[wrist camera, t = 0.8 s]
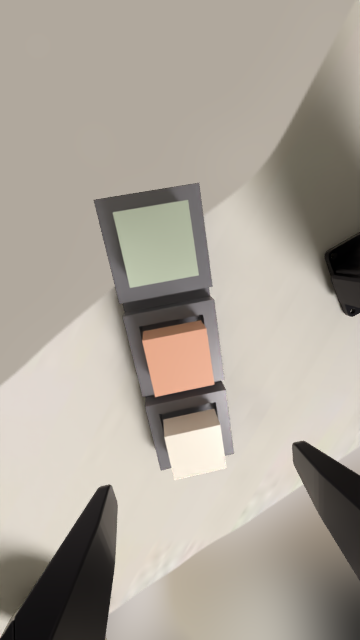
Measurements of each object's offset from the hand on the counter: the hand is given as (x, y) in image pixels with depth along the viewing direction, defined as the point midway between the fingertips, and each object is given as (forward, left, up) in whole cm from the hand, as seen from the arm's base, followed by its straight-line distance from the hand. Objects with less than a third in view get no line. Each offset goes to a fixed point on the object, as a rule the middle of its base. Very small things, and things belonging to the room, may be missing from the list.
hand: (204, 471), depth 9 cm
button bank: (0, 0, -13) cm, 13 cm away
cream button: (+3, +8, -10) cm, 13 cm away
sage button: (-3, -8, -10) cm, 13 cm away
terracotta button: (0, 0, -10) cm, 10 cm away
